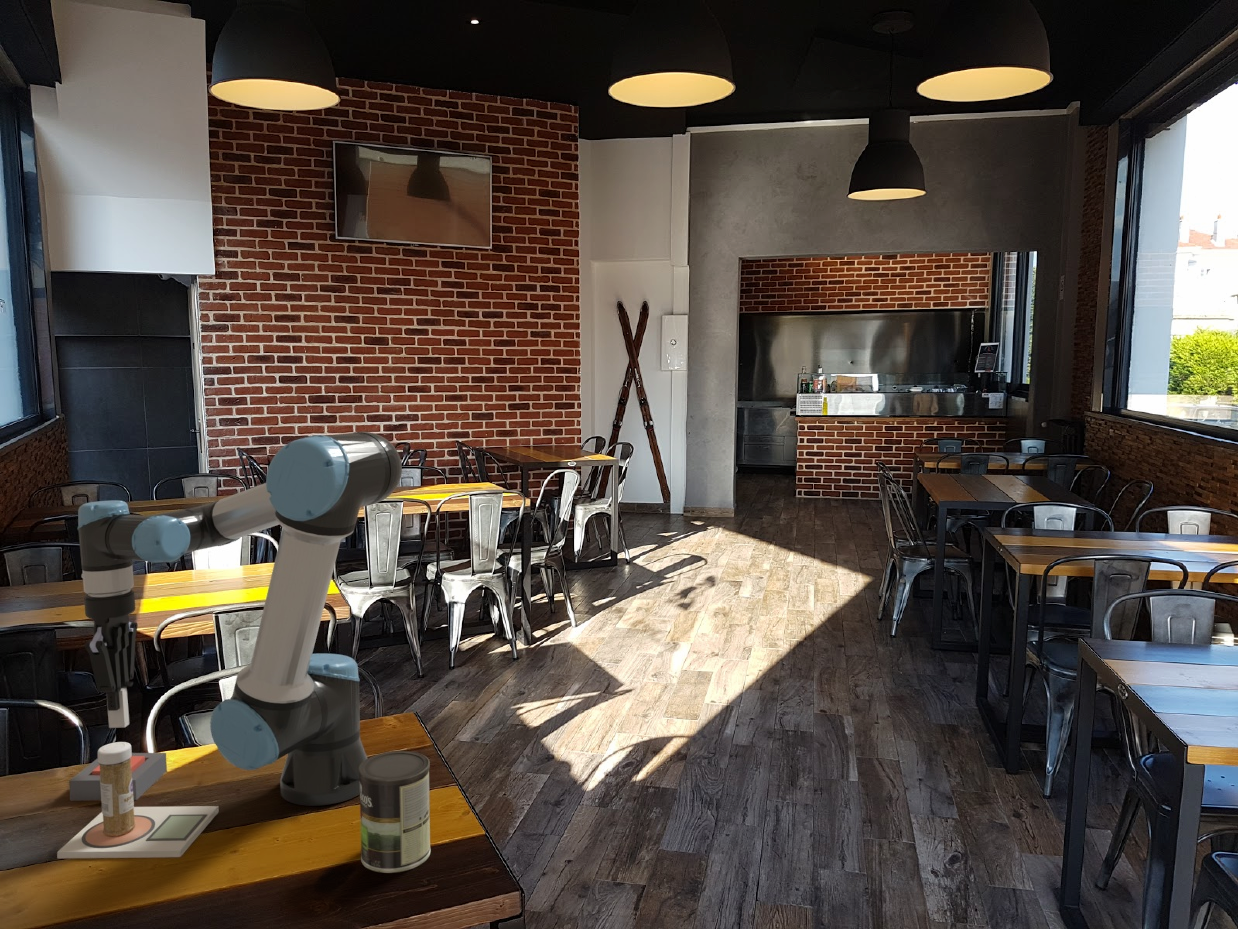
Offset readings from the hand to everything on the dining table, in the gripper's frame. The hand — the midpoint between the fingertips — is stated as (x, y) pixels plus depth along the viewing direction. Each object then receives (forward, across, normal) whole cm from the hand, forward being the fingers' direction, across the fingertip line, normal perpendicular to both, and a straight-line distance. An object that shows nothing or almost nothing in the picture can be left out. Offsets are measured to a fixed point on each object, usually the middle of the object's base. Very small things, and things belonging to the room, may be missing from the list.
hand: (119, 725), depth 159 cm
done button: (+10, 0, -1) cm, 10 cm away
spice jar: (+10, +18, +8) cm, 22 cm away
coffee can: (+13, +24, +52) cm, 59 cm away
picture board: (+11, +17, +11) cm, 23 cm away
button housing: (+11, 0, -1) cm, 11 cm away
